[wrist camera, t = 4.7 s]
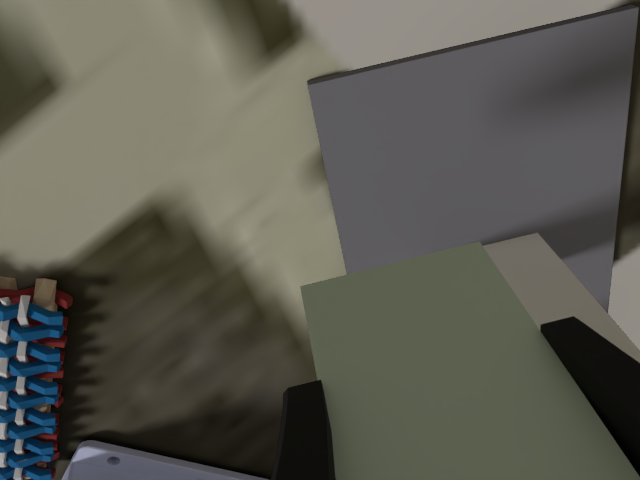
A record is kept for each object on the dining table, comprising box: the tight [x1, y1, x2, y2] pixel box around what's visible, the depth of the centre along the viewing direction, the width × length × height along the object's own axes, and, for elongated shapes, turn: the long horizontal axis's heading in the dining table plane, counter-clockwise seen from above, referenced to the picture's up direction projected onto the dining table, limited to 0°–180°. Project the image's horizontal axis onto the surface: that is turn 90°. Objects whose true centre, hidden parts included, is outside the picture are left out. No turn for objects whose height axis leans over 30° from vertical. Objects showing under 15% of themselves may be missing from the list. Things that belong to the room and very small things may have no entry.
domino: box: [483, 233, 640, 363], centre depth 18 cm, size 2×4×8 cm, turn 101°
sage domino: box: [300, 241, 640, 480], centre depth 10 cm, size 2×4×8 cm, turn 101°
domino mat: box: [307, 5, 639, 313], centre depth 25 cm, size 26×10×1 cm, turn 11°
